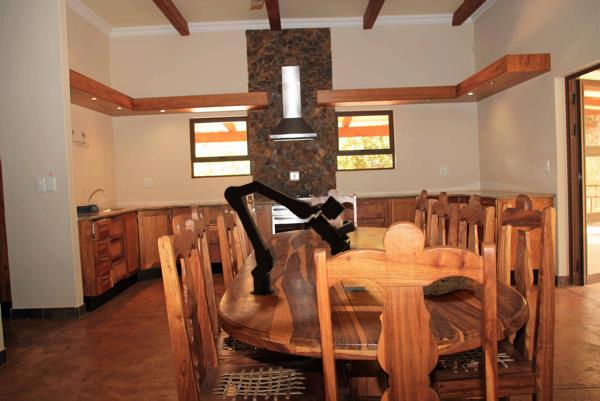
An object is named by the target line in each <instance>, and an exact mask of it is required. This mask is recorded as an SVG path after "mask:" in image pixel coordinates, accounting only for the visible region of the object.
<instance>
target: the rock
mask: <svg viewBox="0 0 600 401" xmlns="http://www.w3.org/2000/svg"><path fill="white" fill-rule="evenodd" d="M465 277H466V276H464V277H447V278H443V279H440V280H438V281H436V282H434V283H432V284H431V285H429V286H425V287H424V288H423V289H424V295H428V294H442V295H446V294H445V293H447V294H449V293H448V292H450V291H453V292H454V290H455V291H460V290H459V289H461V290H465V289H466V287H467V285H468V278H465ZM450 293H451V292H450Z"/></svg>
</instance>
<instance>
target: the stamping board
mask: <svg viewBox="0 0 600 401" xmlns="http://www.w3.org/2000/svg"><path fill="white" fill-rule="evenodd" d="M343 292H344V293H346V292H347V293H348V292H349V293H354V292H355V293H359V292H360V293H361V292H362V293H364V292H365V293H366V286H344V288H343Z"/></svg>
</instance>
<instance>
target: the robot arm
mask: <svg viewBox="0 0 600 401" xmlns="http://www.w3.org/2000/svg"><path fill="white" fill-rule="evenodd" d="M255 193H258V194H259V195H261V196H263V197H264V198H267V199H268V200H271V201H273V202H275V203H277V204H279V205H280V206H283V207H285V208H286V209H287V210H288V211H290V212H291V213H292V214H293V215H295V216H296V217H298V219H301V220H307V219H309V218H310V219H309V220H308V221H304V222H303V225H304V226H303V227H304V228H303V230H304V231H307V230H309V228H310V229H311V230H312V231H313V232H314V233H315V234H316V235H318V236H319V237H320V240H321V241H322V242H323V241H324V242H325V243H326V244H327V245H328V246H329V249H330V255H331V256H332V257H333V256H334V255H336V254H338V253H340V252H344V251H347V250H350V247H351V238H350V236H349V235H348V234H350V233H354V232H355V231H357V228H356V226H355V224H354V221H352V220H350V221H349V220H348V219H345V220H344V221H342V225H340V226H338V227H337V226H336V225H333V224H331V222H330V221H331V220H333V221H336V219H337V218H338V217H339V216H340V215H342V213H343V212H344V211H345V210H346V209H347V208H346V206H345V205H343V203H341V201H338V200H337V199H336V198H335V197H334V196H333V195H330V196H329V197H328V198H327V200H326V201H325V202H324V203H323V204H322V205H313V204H312V203H311V202H310V201H306V200H303V199H299V198H296V197H292V196H290V195H288V194H286V193H284V192H282V191H280V190H278V189H276V188H274V187H271V186H270V185H268V184H266V183H264V182H263V181H262V180H253V181H251V182H248V183H244V184H241V185H230V186H228V187H227V188H226V189H224V192H223V197H224V199H225V201H226V202H227V203H228V205H229V206H230V208H232V210H233V211H234V212H235V213H236V214H237V217H238V219H239V221H240V223H241V225H242V228H243V229H244V232H245V233H246V236H247V238H248V240H249V242H250V244H251V246H252V249H253V252H254V253H253V254H254V260H255V263H256V266H254V268H253V269H252V270H251V271H250V274H251V277H252V282H253V284H252V285H253V290H251V291H249V294H252V295H253V294H254V295H261V296H262V295H263V296H267V295H268V294H271V293H273V292H275V291H276V290H275V289H272V276H271V272H272V270H273V269H274V268H275V267H276V266H277V263H278V259H277V257H278V255H277V253H276V252H275V250H274V247H273V246H272V245H271V246H270V247H269V246H268V245H267V244H266V242H265V241H264V239H263V237H262V236H263V235H262V234H261V233H260V230H259V227H258V226H257V224H256V222H255V220H254V218H253V216H252V214H251V211H250V209H249V206H248V199H247V196H251V195H252V194H253V195H254V194H255ZM320 211H321V212H320ZM318 213H319V214H318ZM316 214H318V215H317V216H316V217H315V216H313V215H316ZM328 220H329V221H328Z"/></svg>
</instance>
